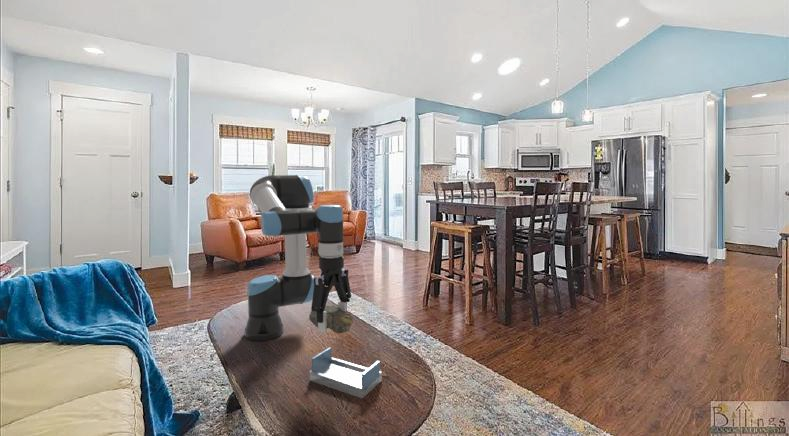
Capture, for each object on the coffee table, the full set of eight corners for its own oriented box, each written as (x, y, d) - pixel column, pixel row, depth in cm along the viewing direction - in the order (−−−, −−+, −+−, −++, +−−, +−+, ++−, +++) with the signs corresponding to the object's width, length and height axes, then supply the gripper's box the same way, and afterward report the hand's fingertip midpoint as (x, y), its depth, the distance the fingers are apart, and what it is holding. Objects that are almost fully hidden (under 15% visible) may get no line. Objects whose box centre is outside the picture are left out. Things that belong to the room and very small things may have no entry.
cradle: (309, 380, 122) (309, 359, 121) (331, 365, 132) (331, 346, 131) (362, 398, 112) (361, 375, 112) (381, 380, 122) (381, 360, 121)
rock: (363, 313, 119) (342, 314, 111) (359, 335, 119) (337, 338, 111) (324, 301, 129) (302, 301, 121) (320, 321, 129) (297, 323, 120)
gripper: (316, 263, 106) (318, 342, 109) (361, 250, 125) (362, 318, 127) (296, 260, 110) (298, 336, 112) (343, 248, 128) (344, 314, 131)
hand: (332, 326), depth 120 cm, fingers closed on rock, 9 cm apart
